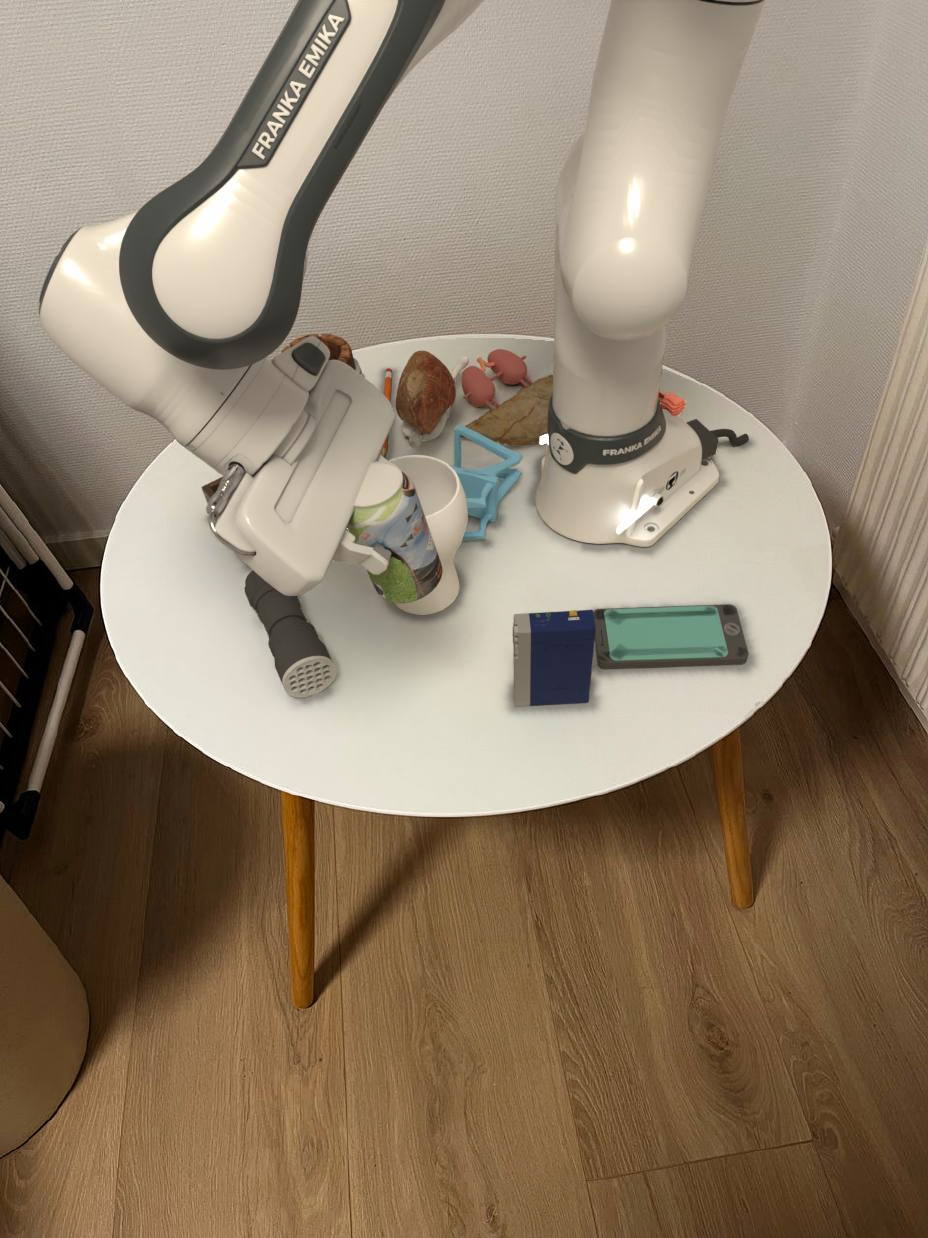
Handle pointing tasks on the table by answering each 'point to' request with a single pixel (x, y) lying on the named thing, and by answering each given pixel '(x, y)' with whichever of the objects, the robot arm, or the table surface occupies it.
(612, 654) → the smartphone
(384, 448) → the pencil
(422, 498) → the cup
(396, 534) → the beverage can
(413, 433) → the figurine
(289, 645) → the flashlight
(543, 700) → the blue rectangular block
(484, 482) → the chair
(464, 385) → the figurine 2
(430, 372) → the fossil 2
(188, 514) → the table surface
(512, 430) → the fossil
